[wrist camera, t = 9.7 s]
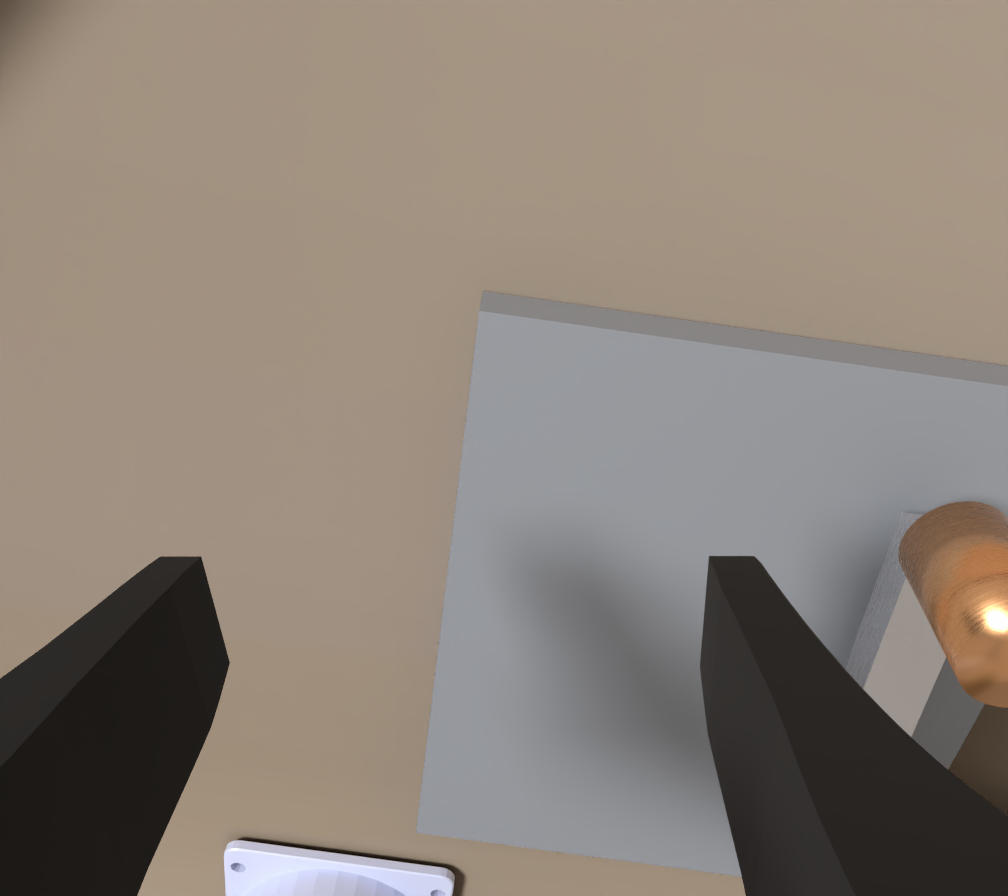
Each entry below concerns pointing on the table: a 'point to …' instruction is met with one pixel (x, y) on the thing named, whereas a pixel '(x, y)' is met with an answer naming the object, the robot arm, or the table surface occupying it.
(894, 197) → the table surface
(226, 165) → the table surface
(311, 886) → the robot arm
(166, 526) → the table surface
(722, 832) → the base
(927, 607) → the lever
